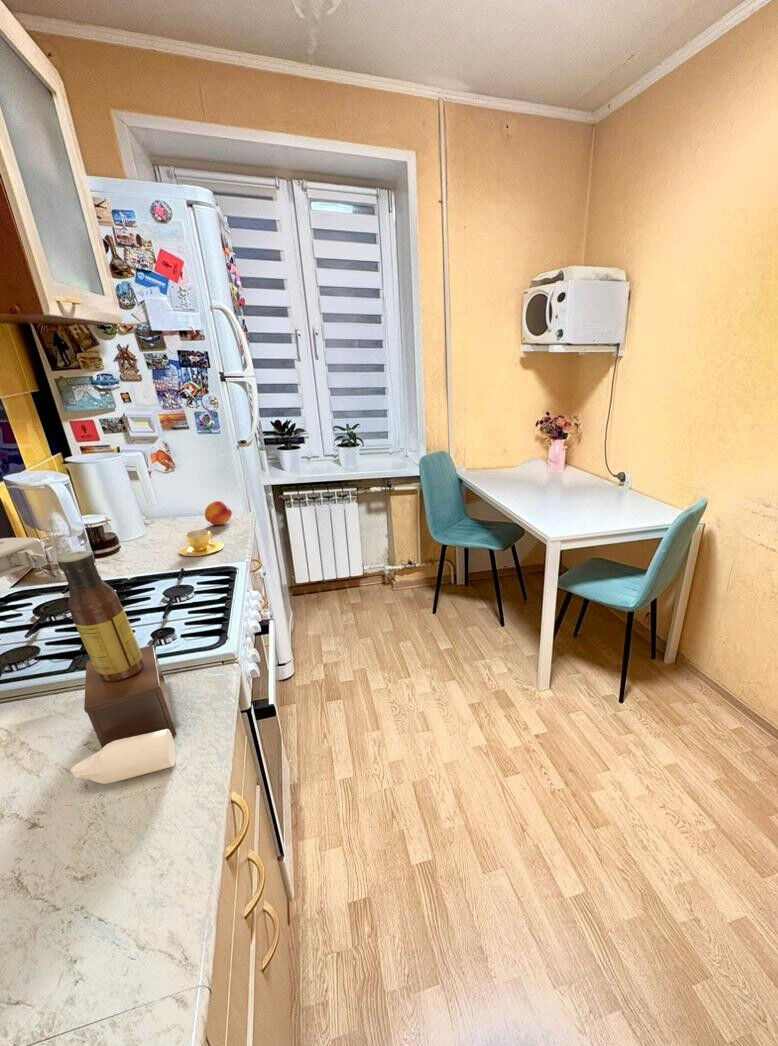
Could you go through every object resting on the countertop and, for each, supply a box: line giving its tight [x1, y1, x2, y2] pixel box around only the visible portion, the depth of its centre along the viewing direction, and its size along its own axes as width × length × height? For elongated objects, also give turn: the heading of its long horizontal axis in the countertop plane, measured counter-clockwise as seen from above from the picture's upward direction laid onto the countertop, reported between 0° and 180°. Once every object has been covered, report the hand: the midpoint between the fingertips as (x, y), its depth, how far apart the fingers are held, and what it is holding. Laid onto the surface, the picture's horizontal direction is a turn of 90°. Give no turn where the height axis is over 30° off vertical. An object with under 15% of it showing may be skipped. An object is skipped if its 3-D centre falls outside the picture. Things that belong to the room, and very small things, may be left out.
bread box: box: [86, 651, 177, 749], centre depth 83 cm, size 13×9×9 cm
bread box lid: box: [83, 644, 161, 714], centre depth 80 cm, size 14×9×1 cm, turn 34°
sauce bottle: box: [56, 550, 144, 681], centre depth 76 cm, size 6×6×20 cm
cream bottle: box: [70, 729, 176, 784], centre depth 74 cm, size 6×12×6 cm, turn 114°
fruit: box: [204, 500, 233, 526], centre depth 177 cm, size 8×8×8 cm
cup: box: [179, 529, 224, 557], centre depth 155 cm, size 12×12×5 cm
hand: (13, 573), depth 75 cm, fingers open, 8 cm apart
